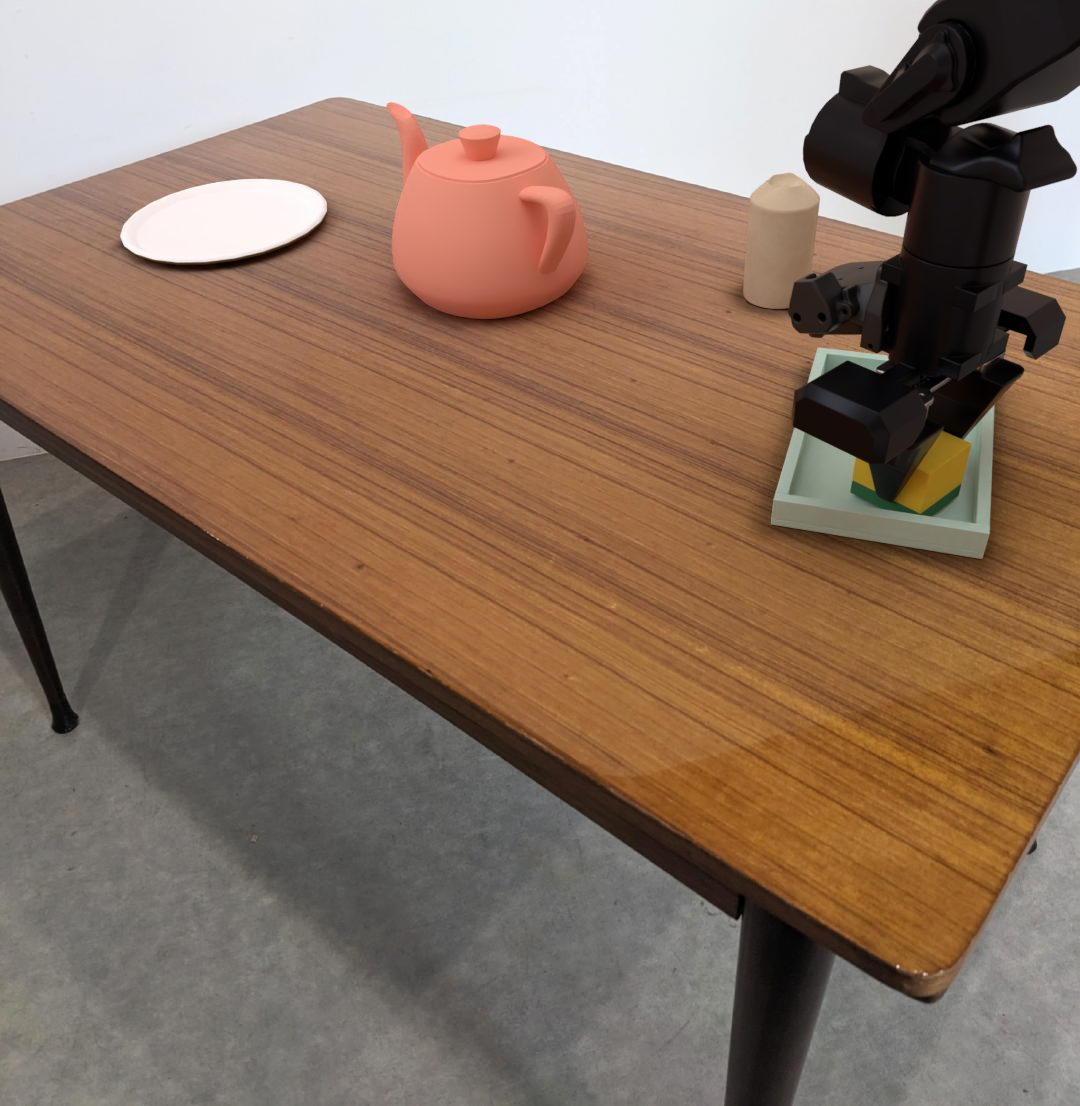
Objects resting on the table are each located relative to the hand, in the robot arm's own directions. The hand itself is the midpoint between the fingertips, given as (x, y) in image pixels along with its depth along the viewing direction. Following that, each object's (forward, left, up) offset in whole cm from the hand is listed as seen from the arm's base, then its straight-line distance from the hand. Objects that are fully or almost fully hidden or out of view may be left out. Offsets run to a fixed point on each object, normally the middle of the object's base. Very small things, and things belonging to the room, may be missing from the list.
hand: (908, 482), depth 66 cm
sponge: (0, 0, -1) cm, 1 cm away
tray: (+4, -4, -2) cm, 6 cm away
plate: (+75, +9, -2) cm, 75 cm away
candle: (+25, -17, -2) cm, 30 cm away
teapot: (+46, -2, -2) cm, 46 cm away
